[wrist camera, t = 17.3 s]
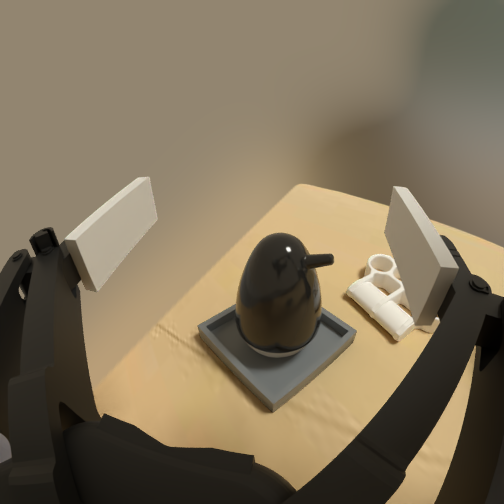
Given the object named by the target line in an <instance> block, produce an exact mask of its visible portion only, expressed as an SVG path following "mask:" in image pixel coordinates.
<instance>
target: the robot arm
mask: <svg viewBox="0 0 504 504" xmlns="http://www.w3.org/2000/svg"><path fill="white" fill-rule="evenodd" d="M157 220H158V217H157V212H156V208H155V202H154V198H153V193H152V188H151V182H150V177H138V178H137V179H136V180H134V181H133V182H132V183H130V184H129V185H128V186H126V187H125V188H124V189H122V190H121V191H120V192H119V193H117V194H116V195H115V196H113V197H112V198H111V199H110V200H109V201H107V202H106V203H105V204H104V205H102V206H101V207H100V208H99V209H98V210H96V211H95V212H94V213H93V214H92V215H90V216H89V217H88V218H87V219H86V220H85V221H84V222H82V223H81V224H80V225H79V226H78V227H77V228H76V229H75V230H73V231H72V232H71V233H70V234H69V235H68V236H67V237H66V238H65V239H64V241H63V242H62V243H61V244H60V245H59V243H58V240H57V238H56V235H55V233H54V230H53V228H51V227H49V228H44V229H42V230H40V231H38V232H37V233H35V234H34V235H33V236H32V237H31V238H30V240H29V241H30V243H31V245H32V248H33V250H34V252H35V254H36V257H32V258H31V257H30V255H29V253H28V251H27V250H26V249H22V250H20V251H19V250H18V251H16V252H15V253H14V254H13V255H12V256H11V257H10V258H9V260H8V261H7V263H6V265H5V266H4V268H3V269H2V271H1V273H0V504H385V503H386V502H387V501H388V500H389V499H390V497H391V496H392V495H393V494H394V493H395V492H396V490H397V489H398V488H399V486H400V485H401V484H402V482H403V480H404V478H405V476H406V473H405V471H406V469H407V467H408V465H409V464H410V462H411V461H412V460H413V458H414V457H415V456H416V454H417V453H418V451H419V450H420V448H421V447H422V445H423V444H424V442H425V441H426V439H427V438H428V436H429V435H430V433H431V432H432V430H433V428H434V427H435V425H436V423H437V422H438V420H439V418H440V417H441V415H442V413H443V411H444V410H445V408H446V406H447V404H448V402H449V401H450V399H451V397H452V395H453V393H454V391H455V389H456V387H457V385H458V383H459V381H460V379H461V376H462V374H463V372H464V370H465V368H466V365H467V363H468V361H469V358H470V356H471V354H472V351H473V349H474V346H475V345H476V354H475V363H474V370H473V377H472V383H471V389H470V394H469V399H468V404H467V409H466V413H465V417H464V421H463V425H462V429H461V433H460V436H459V440H458V443H457V446H456V450H455V453H454V456H453V459H452V462H451V464H450V467H449V470H448V473H447V475H446V478H445V480H444V483H443V485H442V488H441V490H440V492H439V495H438V497H437V499H436V501H435V503H434V504H504V297H501V296H498V295H495V294H492V292H491V288H490V286H489V285H488V283H487V282H486V281H485V280H484V279H482V278H481V277H479V276H477V275H473V274H471V273H470V271H469V269H468V267H467V266H466V264H465V262H464V261H463V259H462V257H461V256H460V254H459V252H458V251H457V249H456V248H455V246H454V244H453V243H452V242H451V241H450V240H449V239H448V238H447V237H445V236H443V235H439V233H438V232H437V230H436V229H435V227H434V226H433V224H432V223H431V221H430V220H429V218H428V217H427V215H426V214H425V212H424V211H423V209H422V208H421V207H420V205H419V204H418V202H417V201H416V200H415V198H414V197H413V196H412V194H411V193H410V191H409V190H408V189H407V188H404V187H397V186H393V192H392V197H391V203H390V208H389V213H388V218H387V223H386V227H385V232H384V233H385V236H386V238H387V241H388V244H389V246H390V249H391V252H392V254H393V257H394V260H395V263H396V266H397V269H398V272H399V275H400V278H401V281H402V284H403V287H404V290H405V293H406V297H407V300H408V303H409V307H410V310H411V314H412V318H413V321H414V325H415V326H431V325H432V323H433V322H434V320H435V318H436V316H437V314H438V317H439V320H440V323H439V325H438V327H437V329H436V330H435V332H434V334H433V335H432V337H431V339H430V340H429V342H428V344H427V345H426V347H425V348H424V350H423V352H422V353H421V355H420V356H419V358H418V359H417V361H416V362H415V364H414V365H413V367H412V368H411V369H410V371H409V372H408V374H407V375H406V377H405V378H404V379H403V381H402V382H401V383H400V385H399V386H398V388H397V389H396V390H395V391H394V393H393V394H392V395H391V397H390V398H389V399H388V400H387V402H386V403H385V404H384V405H383V407H382V408H381V409H380V410H379V412H378V413H377V414H376V415H375V416H374V417H373V419H372V420H371V421H370V422H369V423H368V424H367V426H366V427H365V428H364V429H363V430H362V431H361V432H360V433H359V434H358V435H357V436H356V437H355V439H354V440H353V441H352V442H351V443H350V444H349V445H348V446H347V447H346V448H345V449H344V450H343V451H342V452H341V453H340V454H339V455H338V456H337V457H336V458H335V459H334V460H333V461H332V462H330V463H329V464H328V465H327V466H326V467H325V468H324V469H323V470H322V471H321V472H320V473H318V474H317V475H316V476H315V477H314V478H313V479H312V480H310V481H309V482H308V483H307V484H306V485H304V486H303V487H302V488H301V489H300V490H298V491H296V490H295V489H294V488H293V487H292V485H291V484H290V483H289V482H288V481H286V480H285V479H284V478H283V477H282V476H280V475H279V474H277V473H276V472H274V471H273V470H271V469H269V468H267V467H265V466H263V465H260V464H258V463H255V459H254V455H247V454H241V453H235V452H230V451H224V450H219V449H215V448H182V447H169V446H166V445H164V444H162V443H160V442H159V441H157V440H156V439H154V438H153V437H151V436H149V435H148V434H146V433H145V432H143V431H142V430H140V429H139V428H137V427H136V426H135V425H132V424H129V423H127V422H124V421H121V420H119V419H116V418H114V417H112V416H109V415H107V414H104V415H103V417H102V419H101V417H100V415H99V414H98V411H97V409H96V405H95V401H94V396H93V391H92V386H91V382H90V376H89V370H88V364H87V358H86V351H85V343H84V335H83V325H82V314H81V301H80V290H79V287H78V285H77V284H78V283H79V281H80V280H82V282H83V285H84V287H85V289H86V290H90V291H94V292H98V291H99V290H100V288H101V287H102V285H103V284H104V283H105V282H106V281H107V279H108V278H109V277H110V275H111V274H112V273H113V272H114V270H115V269H116V268H117V267H118V265H119V264H120V263H121V262H122V261H123V259H124V258H125V257H126V256H127V254H128V253H129V252H130V251H131V250H132V248H133V247H134V246H135V245H136V244H137V242H138V241H139V240H140V239H141V238H142V236H144V234H145V233H146V232H147V231H148V230H149V229H150V227H151V226H152V225H153V224H154V223H155V222H156V221H157ZM19 286H20V288H21V290H22V292H23V293H24V295H25V297H24V299H22V298H21V296H20V294H19Z"/></svg>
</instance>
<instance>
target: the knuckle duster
mask: <svg viewBox="0 0 504 504" xmlns="http://www.w3.org/2000/svg"><path fill="white" fill-rule="evenodd" d="M375 269H378V270H382V271H384V272H381V271H377V270H375ZM398 279H401V278H400V275H399V272H398V269H397V266H396V263H395V260H394V259H393V258H392V257H391V256H388V255H385V254H376V255H373V256H371V257H370V258H369V259H368V261H367V265H366V269H365V273H364V277H363V278H362V279H359V280H357V281H355V282H354V283H353V284H351V285H350V286H349V287H348V289H347V291H346V293H347V295H348V296H349V297H351V298H352V299H353V300H354V301H356V302H357V303H358V304H359V305H360V306H361V307H362V308H363V309H364V310H365V311H366V312H367V313H368V314H370V315H369V316H370V317H371V318H374V319H375V320H376V321H377V322H378V323H379V324H380V325H381V326H382V327H383V328H384V329H386V330H387V331H388V332H389V333H390V334H391V335H392V336H393V338H394V339H395V340H397V341H401V340H402V339H404V338H405V337H406V336H407V335H409V334H410V333H411V332H412V331H413V329H422V330H424V331H426V332H429V333H434V332H435V330H436V329H437V327H438V325H439V323H440V320H439V318H438V317H436V318H435V320H434V322H433V323H432V325H431V326H415V325H414V321H413V318H412V317H411V316H410V315H408V314H407V313H406V312H405V311H404V310H403V309H401V308H400V307H399V306H398V304H402V305H404V306H405V307H406V308H408V309H409V310H410V307H409V303H408V300H407V297H406V293H405V290H404V287H403V284H402V281H399V280H398ZM377 287H378V288H384V289H385V290H386V291H387V292H389V293H390V295H388V296H386V295H385V294H384V293H383V292H381V291H380V290H379V289H378V288H377ZM410 311H411V310H410ZM437 315H438V314H437Z"/></svg>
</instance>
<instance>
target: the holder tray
mask: <svg viewBox="0 0 504 504" xmlns="http://www.w3.org/2000/svg"><path fill="white" fill-rule="evenodd" d="M235 309H236V304H235V305H233V306H231V307H229V308H228V309H226V310H224V311H222V312H221V313H219V314H217V315H215V316H214V317H212V318H210V319H208V320H207V321H205V322H203V323H201V324H199V325H198V330H199V334H200V337H201V338H202V340H203V341H204V342H205V343H206V344H207V345H208V346H209V348H210V349H211V350H212V351H213V352H214V353H215V354H216V355H217V356H218V357H219V359H220V360H221V361H222V362H223V363H224V364H225V365H226V366H227V367H228V368H229V369H230V370H231V371H232V372H233V373H234V374H235V376H236V377H237V378H238V379H239V380H240V381H241V382H242V383H243V384H244V385H245V386H246V387H247V388H248V389H249V390H250V391H251V392H252V393H253V394H254V395H255V396H256V397H257V398H258V399H259V400H260V401H261V402H262V403H263V404H264V405H265V406H266V407H267V408H268V409H270V410H271V411H272V412H274V411H276V410H277V409H278V408H280V407H281V406H282V405H283V404H285V403H286V402H287V401H288V400H290V399H291V398H292V397H293V396H295V395H296V394H297V393H298V392H299V391H301V390H302V389H303V388H304V387H305V386H306V385H308V384H309V383H310V382H311V381H312V380H313V379H314V378H316V377H317V376H318V375H319V374H320V373H321V372H322V371H323V370H325V369H326V368H327V367H328V366H329V365H330V364H331V363H332V362H333V361H334V360H335V359H336V358H337V357H339V356H340V355H341V354H342V353H343V352H344V351H345V350H346V349H347V348H348V347H349V346H350V345H351V344H352V343H353V341H354V338H355V335H356V333H357V331H356V330H355V329H353V328H352V327H351V326H349V325H348V324H346V323H345V322H343V321H342V320H340V319H339V318H337V317H336V316H334V315H333V314H331V313H330V312H328V311H327V310H326V309H324V308H323V307H322V314H321V323H320V327H319V330H318V333H317V335H316V336H315V338H314V339H313V340H312V341H311V342H310V343H309V344H308V345H307V346H306V347H305V348H303V349H302V350H301V351H299V352H297V353H296V354H293V355H291V356H287V357H280V358H275V357H268V356H265V355H262V354H260V353H258V352H256V351H255V350H253V349H252V348H251V347H250V346H249V345H248V344H247V343H246V341H245V340H244V339H243V338H242V337H241V336H240V334H239V332H238V330H237V327H236V320H235Z"/></svg>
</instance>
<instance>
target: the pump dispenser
mask: <svg viewBox="0 0 504 504" xmlns="http://www.w3.org/2000/svg"><path fill="white" fill-rule="evenodd" d="M333 263H334V256H333V255H332V254H312V255H310V254H309V252H308V250H307V249H306V247H305V246H304V244H303V243H302V242H301V241H300V240H299V239H298V238H296V237H295V236H293V235H291V234H287V233H274V234H271V235H268V236H266V237H265V238H263V239H262V240H261V241H260V242H259V243H258V244H257V246H256V247H255V248H254V250H253V252H252V253H251V255H250V257H249V259H248V261H247V263H246V266H245V268H244V271H243V273H242V276H241V279H240V283H239V287H238V292H237V298H236V309H235V320H236V327H237V330H238V332H239V334H240V336H241V337H242V338H243V339H244V340H245V341H246V343H247V344H248V345H249V346H250V347H251V348H252V349H253V350H255V351H256V352H258V353H260V354H262V355H265V356H268V357H275V358H280V357H287V356H291V355H293V354H296V353H297V352H299V351H301V350H302V349H303V348H305V347H306V346H307V345H308V344H309V343H310V342H311V341H312V340H313V339H314V338H315V336H316V335H317V333H318V330H319V327H320V323H321V314H322V301H321V290H320V284H319V279H318V276H317V272H316V269H315V268H318V267H323V266H329V265H332V264H333Z"/></svg>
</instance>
